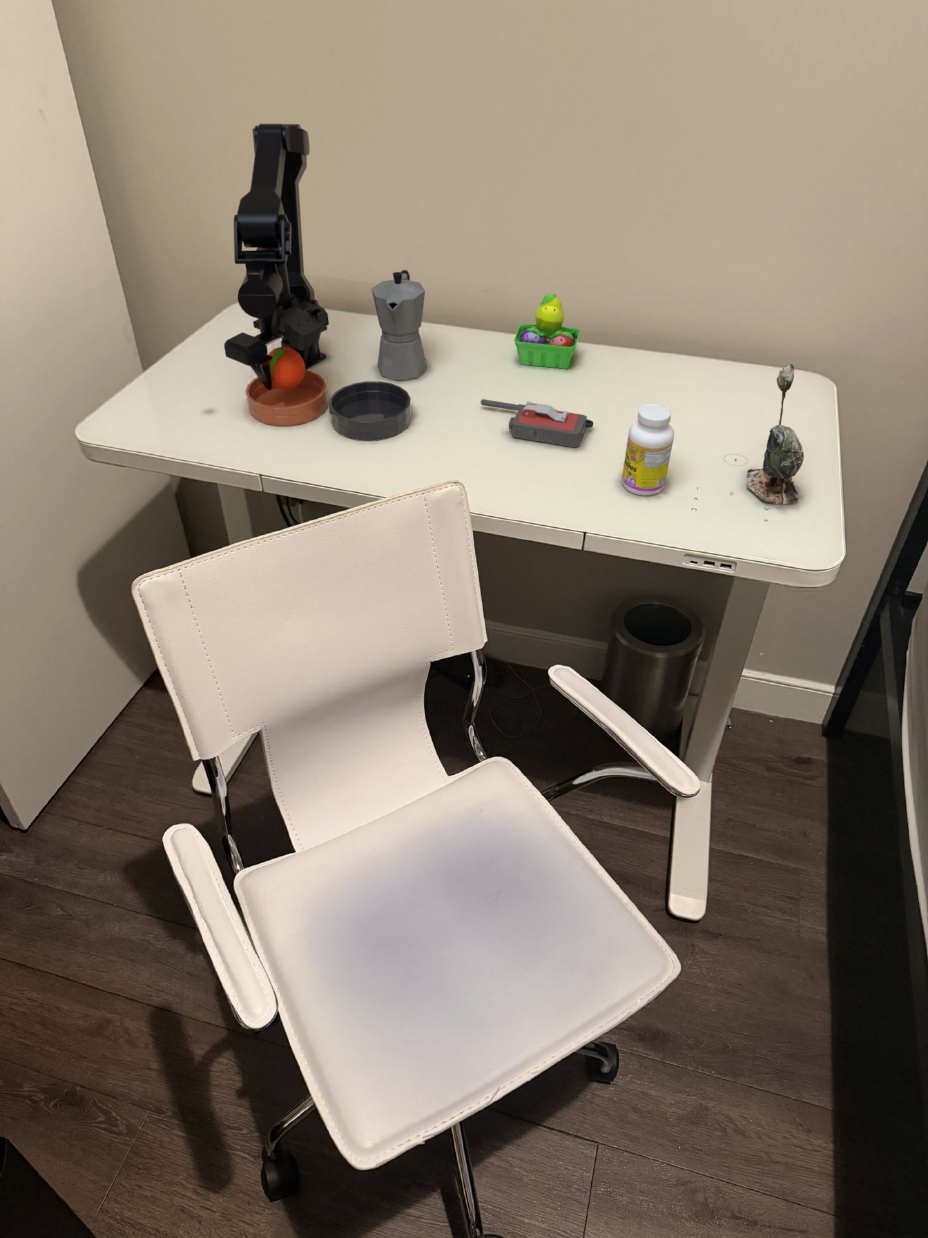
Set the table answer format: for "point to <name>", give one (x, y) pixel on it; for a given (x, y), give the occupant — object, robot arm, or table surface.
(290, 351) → the clementine
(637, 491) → the supplement bottle
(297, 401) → the terracotta bowl
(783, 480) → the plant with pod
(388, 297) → the coffeepot
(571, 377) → the table surface
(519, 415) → the walkie-talkie
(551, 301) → the fruit basket
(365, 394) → the charcoal bowl
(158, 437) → the table surface
